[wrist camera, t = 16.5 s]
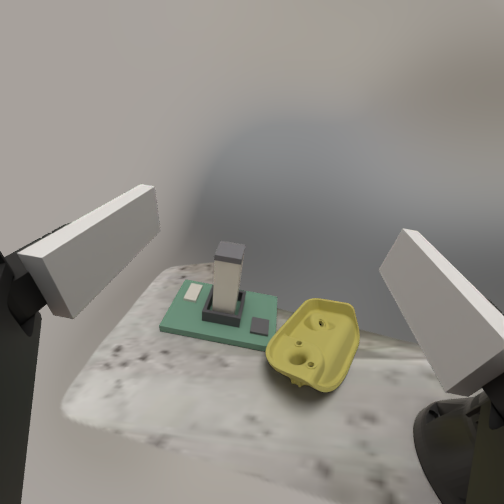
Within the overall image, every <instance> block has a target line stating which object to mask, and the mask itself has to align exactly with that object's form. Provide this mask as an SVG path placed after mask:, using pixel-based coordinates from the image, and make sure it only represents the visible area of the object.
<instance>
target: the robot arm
mask: <svg viewBox="0 0 504 504" xmlns="http://www.w3.org/2000/svg"><path fill="white" fill-rule="evenodd" d="M159 232H160V223H159V216H158V208H157V200H156V192H155V187H154V186H149V185H143V184H140V185H138V186H137V187H135V188H133V189H131V190H130V191H128V192H126V193H125V194H122V195H121V196H119V197H117V198H115V199H113V200H112V201H110V202H108V203H106V204H104V205H103V206H101V207H99V208H97V209H96V210H94V211H92V212H90V213H88V214H86V215H85V216H83V217H81V218H79V219H78V220H76V221H74V222H72V223H68V224H65V225H63V226H61V227H59V228H58V229H55V230H54V231H52V233H48V234H46V235H44V236H43V237H42V238H39V239H37V240H35V241H33V242H32V243H30V244H28V245H26V246H24V247H22V248H21V249H19V250H17V251H15V252H13V253H12V254H10V255H8V256H6V257H4V256H3V255H2V253H1V252H0V504H21V497H22V489H23V480H24V471H25V462H26V453H27V444H28V435H29V426H30V417H31V409H32V400H33V391H34V381H35V372H36V364H37V355H38V346H39V338H40V329H41V320H42V318H41V314H40V313H39V310H40V309H41V308H42V307H44V306H45V305H46V304H47V305H48V307H49V309H50V310H51V312H52V313H53V315H55V316H60V317H66V318H70V319H74V318H75V317H76V316H77V315H78V314H79V313H80V312H81V311H82V310H83V309H84V308H85V307H86V306H87V305H88V304H89V303H90V302H91V301H92V300H93V299H94V298H95V297H96V296H97V295H98V294H99V293H100V292H101V291H102V290H103V289H104V288H105V287H106V286H107V285H108V284H109V283H110V282H111V281H112V280H113V279H114V278H115V277H116V276H117V275H118V274H119V273H120V272H121V271H122V269H124V267H126V266H127V265H128V264H129V262H131V261H132V260H133V258H135V257H136V255H137V254H138V253H139V252H140V251H141V250H142V249H143V248H144V247H145V246H146V245H147V244H148V243H149V242H150V241H151V240H152V239H153V238H154V237H155V236H156V235H157V234H158V233H159ZM379 272H380V274H381V275H382V277H383V279H384V281H385V283H386V284H387V286H388V288H389V290H390V292H391V294H392V296H393V297H394V299H395V301H396V303H397V305H398V306H399V308H400V310H401V312H402V314H403V316H404V318H405V319H406V321H407V323H408V325H409V327H410V329H411V330H412V332H413V334H414V336H415V338H416V340H417V342H418V343H419V345H420V347H421V349H422V351H423V353H424V354H425V356H426V358H427V360H428V362H429V364H430V365H431V367H432V369H433V371H434V373H435V375H436V376H437V378H438V380H439V382H440V384H441V386H442V387H443V389H444V391H445V392H446V393H452V394H457V395H462V396H467V397H469V396H470V395H472V394H473V393H475V392H476V391H478V390H480V389H481V388H483V390H484V391H483V392H482V393H480V394H479V395H477V396H475V397H470V398H460V399H449V400H440V401H437V402H434V403H432V404H430V405H429V406H427V407H426V408H424V409H423V410H422V411H421V412H420V413H419V414H418V416H417V418H416V420H415V424H414V440H415V446H416V450H417V453H418V457H419V459H420V462H421V465H422V467H423V469H424V472H425V474H426V476H427V478H428V480H429V482H430V483H431V485H432V487H433V489H434V490H435V492H436V494H437V495H438V497H439V498H440V500H441V501H442V503H443V504H504V314H502V312H501V311H500V310H499V309H498V308H497V307H496V306H495V305H494V304H493V303H492V302H491V301H490V300H488V299H487V298H485V297H484V296H483V295H482V294H481V293H480V292H479V291H478V290H477V289H476V288H475V287H474V286H473V285H472V284H471V283H470V282H469V281H468V280H467V279H466V278H464V276H463V275H462V274H461V273H460V272H459V271H458V270H457V269H455V268H454V267H453V265H451V264H450V263H449V262H448V261H447V260H446V259H445V258H444V257H443V256H442V255H441V254H440V253H439V252H438V251H437V250H436V249H435V248H434V247H433V246H432V245H431V244H430V243H429V242H428V241H427V240H426V239H425V238H424V237H423V236H422V235H421V234H420V233H419V232H418V231H413V230H407V229H402V230H401V232H400V234H399V236H398V237H397V239H396V241H395V243H394V244H393V246H392V248H391V249H390V251H389V253H388V255H387V256H386V258H385V260H384V261H383V263H382V265H381V267H380V268H379Z"/></svg>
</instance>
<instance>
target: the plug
mask: <svg viewBox="0 0 504 504" xmlns="http://www.w3.org/2000/svg"><path fill="white" fill-rule="evenodd" d="M244 251H245V245H243V244H237V243H232V242H226V241H220V244H219V246H218V248H217V250H216V253H215V257H214V260H215V265H214V285H213V306H212V310H213V311H218V312H223V313H228V314H233V315H235V310H236V306H237V300H238V293H239V286H240V278H241V271H242V263H243V257H244Z"/></svg>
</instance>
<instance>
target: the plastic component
mask: <svg viewBox="0 0 504 504" xmlns="http://www.w3.org/2000/svg"><path fill="white" fill-rule="evenodd" d="M319 323H321V325H322V326H320V325H319ZM359 338H360V335H359V327H358V323H357V319H356V315H355V310H354V308H353V306H352V305H350V304H348V303H343V302H337V301H332V300H326V299H320V298H313V299H309V300H306V301H305V302H304V303H303V304H302V305H301V306H300V307H299V308H298V309H297V310H296V311H295V313H294V314H293V315H292V316H291V317H290V318H289V319H288V320H287V321H286V322H285V324H284V325H283V326H282V327H281V328H280V329H279V330H278V331H277V332H276V334H275V335H274V336H273V337H272V338H271V340H270V341H269V343H268V345H267V347H266V357H267V360H268V362H269V363H270V365H271V366H272V367H273V368H274V369H275V370H276V371H278V372H279V373H281V374H283V375H285V376H287V377H289V378H290V379H291V383H292V384H296V385H298V386H299V387H301V386H303V385H306V386H308V385H309V386H311V387H312V388H314V389H316V390H319V391H321V392H330V391H333V390H335V389H336V388H337V387H338V386H339V385H340V384H341V383H342V381H343V380H344V378H345V376H346V375H347V372H348V370H349V368H350V365H351V363H352V360H353V358H354V355H355V353H356V351H357V348H358V346H359ZM310 366H313V367H310Z"/></svg>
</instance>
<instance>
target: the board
mask: <svg viewBox="0 0 504 504" xmlns="http://www.w3.org/2000/svg"><path fill="white" fill-rule="evenodd" d="M212 306H213V285H212V284H207V283H201V282H196V281H191V280H185V281H184V283H183V285H182V286H181V288H180V290H179V292H178V293H177V295H176V297H175V299H174V300H173V302H172V304H171V306H170V307H169V309H168V311H167V313H166V315H165V316H164V318H163V320H162V322H161V323H160V325H159V328H160V331H162V332H168V333H173V334H178V335H183V336H188V337H193V338H198V339H203V340H209V341H214V342H219V343H224V344H229V345H234V346H239V347H245V348H250V349H255V350H260V351H265V352H266V347H267V345H268V343H269V341H270V340H271V338H272V337H273V336H274V335H275V334H276V315H277V297H276V296H270V295H265V294H259V293H254V292H249V291H244V290H239V293H238V300H237V306H236V310H235V315H233V314H228V313H223V312H218V311H213V310H212Z"/></svg>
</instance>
